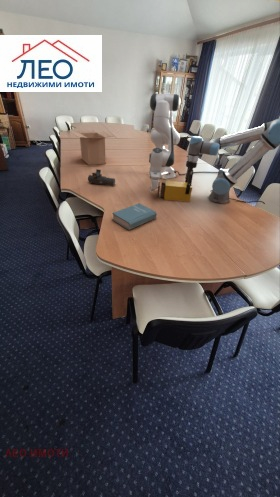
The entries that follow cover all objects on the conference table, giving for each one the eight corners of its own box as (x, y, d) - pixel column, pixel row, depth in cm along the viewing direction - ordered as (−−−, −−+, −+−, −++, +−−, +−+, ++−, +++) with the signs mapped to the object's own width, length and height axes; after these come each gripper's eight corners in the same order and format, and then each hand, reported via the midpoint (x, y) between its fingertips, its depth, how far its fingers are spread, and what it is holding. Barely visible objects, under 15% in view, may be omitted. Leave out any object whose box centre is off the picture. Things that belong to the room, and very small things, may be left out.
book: (138, 209, 150) (139, 203, 147) (156, 219, 142) (156, 212, 139) (112, 220, 137) (112, 212, 134) (129, 230, 128) (130, 223, 125)
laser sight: (112, 187, 180) (112, 175, 174) (86, 184, 183) (85, 171, 177) (115, 183, 187) (115, 171, 181) (90, 180, 190) (89, 168, 184)
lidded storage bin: (163, 199, 167) (165, 185, 161) (163, 194, 176) (165, 180, 170) (189, 201, 167) (192, 187, 160) (188, 196, 175) (190, 182, 169)
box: (116, 165, 229) (116, 136, 213) (83, 168, 214) (80, 137, 198) (102, 154, 259) (101, 128, 243) (71, 156, 244) (68, 129, 228)
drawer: (149, 196, 168) (150, 185, 162) (150, 192, 175) (151, 180, 170) (181, 199, 167) (183, 187, 162) (180, 194, 175) (182, 183, 169)
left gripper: (151, 168, 170) (149, 185, 178) (150, 176, 153) (149, 195, 161) (159, 168, 170) (157, 186, 178) (159, 177, 153) (157, 196, 161)
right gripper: (185, 156, 164) (180, 185, 177) (188, 165, 145) (182, 196, 158) (195, 157, 164) (189, 186, 177) (199, 166, 145) (192, 197, 158)
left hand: (153, 190), depth 169 cm, fingers closed, pressing on drawer
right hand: (186, 191), depth 168 cm, fingers closed on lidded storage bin, 11 cm apart
